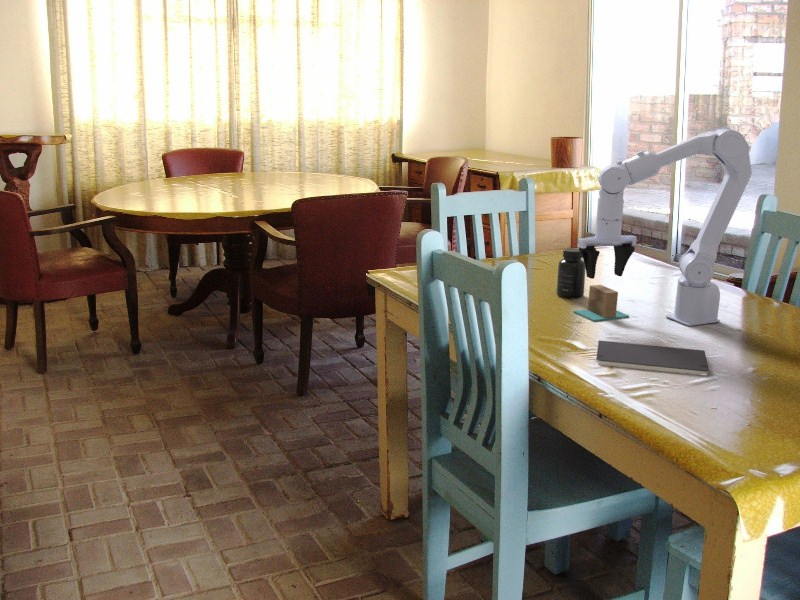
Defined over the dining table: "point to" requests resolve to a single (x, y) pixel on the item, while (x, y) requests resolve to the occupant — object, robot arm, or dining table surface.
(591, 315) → the teal mat
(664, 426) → the dining table surface
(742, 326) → the dining table surface
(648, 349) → the notebook
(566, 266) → the supplement bottle
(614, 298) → the brown block
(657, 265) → the dining table surface
